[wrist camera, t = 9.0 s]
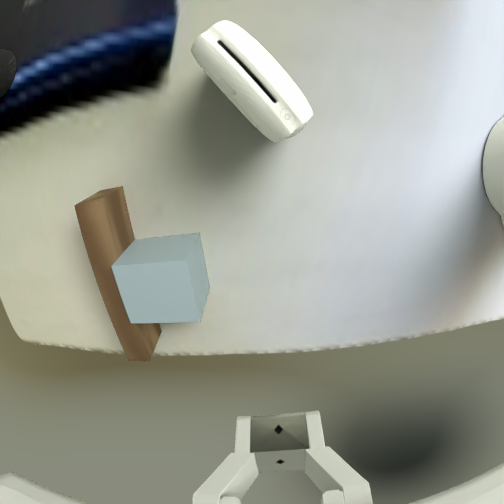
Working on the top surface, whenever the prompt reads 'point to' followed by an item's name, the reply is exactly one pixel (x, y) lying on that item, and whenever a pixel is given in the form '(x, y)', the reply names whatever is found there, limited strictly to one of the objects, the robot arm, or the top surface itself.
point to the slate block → (163, 279)
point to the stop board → (104, 256)
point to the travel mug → (6, 70)
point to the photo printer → (252, 80)
